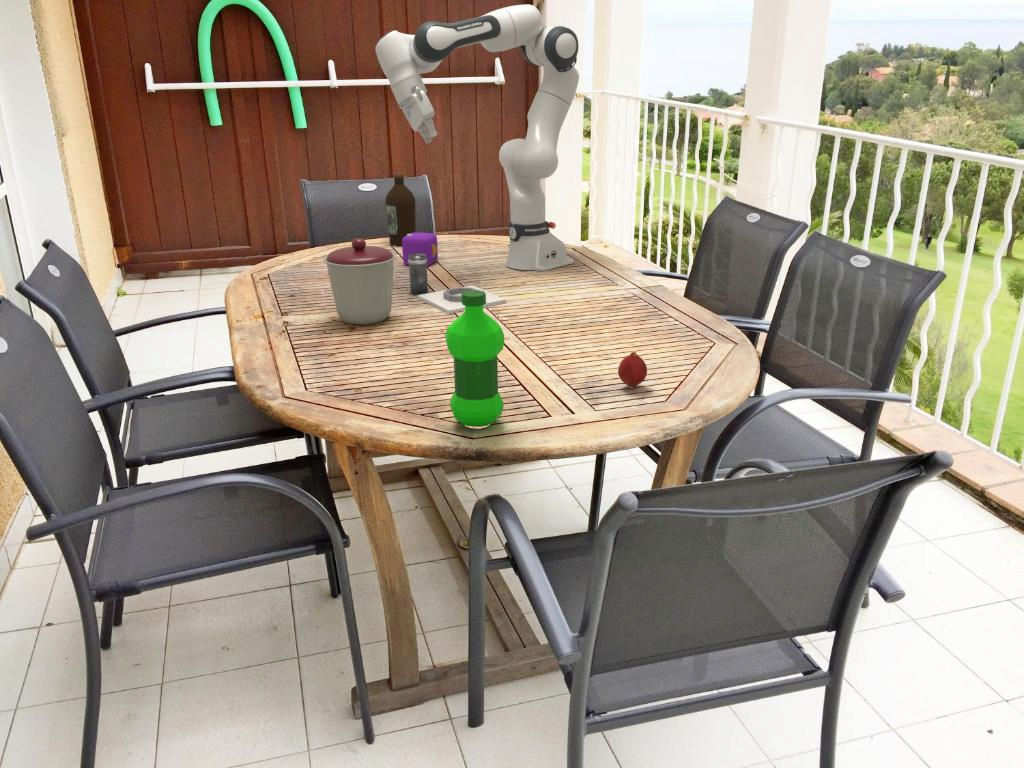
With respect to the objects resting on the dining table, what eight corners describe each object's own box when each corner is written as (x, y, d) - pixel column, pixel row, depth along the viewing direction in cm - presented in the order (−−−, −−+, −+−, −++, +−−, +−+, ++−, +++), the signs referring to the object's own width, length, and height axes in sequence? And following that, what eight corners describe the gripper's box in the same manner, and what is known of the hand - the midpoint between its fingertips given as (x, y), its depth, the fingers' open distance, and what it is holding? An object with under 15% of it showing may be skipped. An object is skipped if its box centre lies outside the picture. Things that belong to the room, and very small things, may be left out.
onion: (614, 383, 168) (616, 346, 165) (642, 381, 168) (644, 345, 165) (620, 393, 163) (622, 356, 160) (648, 392, 163) (651, 355, 160)
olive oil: (408, 239, 301) (404, 170, 291) (423, 244, 293) (419, 173, 283) (383, 243, 295) (378, 173, 286) (396, 248, 287) (392, 176, 278)
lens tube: (423, 289, 236) (421, 252, 232) (431, 293, 232) (429, 255, 228) (407, 292, 234) (404, 254, 230) (415, 296, 230) (413, 258, 226)
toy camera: (442, 257, 274) (440, 228, 270) (434, 267, 261) (433, 236, 257) (410, 257, 275) (409, 227, 271) (401, 267, 262) (399, 236, 258)
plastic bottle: (453, 411, 155) (448, 285, 146) (508, 413, 154) (506, 286, 145) (444, 434, 146) (438, 300, 137) (502, 436, 145) (500, 301, 136)
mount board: (473, 288, 237) (472, 280, 236) (506, 302, 223) (506, 294, 222) (418, 298, 228) (417, 289, 227) (449, 314, 214) (448, 305, 213)
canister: (357, 305, 222) (350, 229, 214) (413, 313, 214) (408, 234, 207) (315, 324, 207) (306, 242, 199) (373, 333, 199) (366, 249, 192)
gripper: (425, 78, 216) (448, 128, 218) (415, 96, 235) (436, 141, 238) (404, 87, 215) (427, 137, 217) (396, 104, 234) (417, 149, 237)
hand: (431, 139), depth 228 cm, fingers open, 8 cm apart
